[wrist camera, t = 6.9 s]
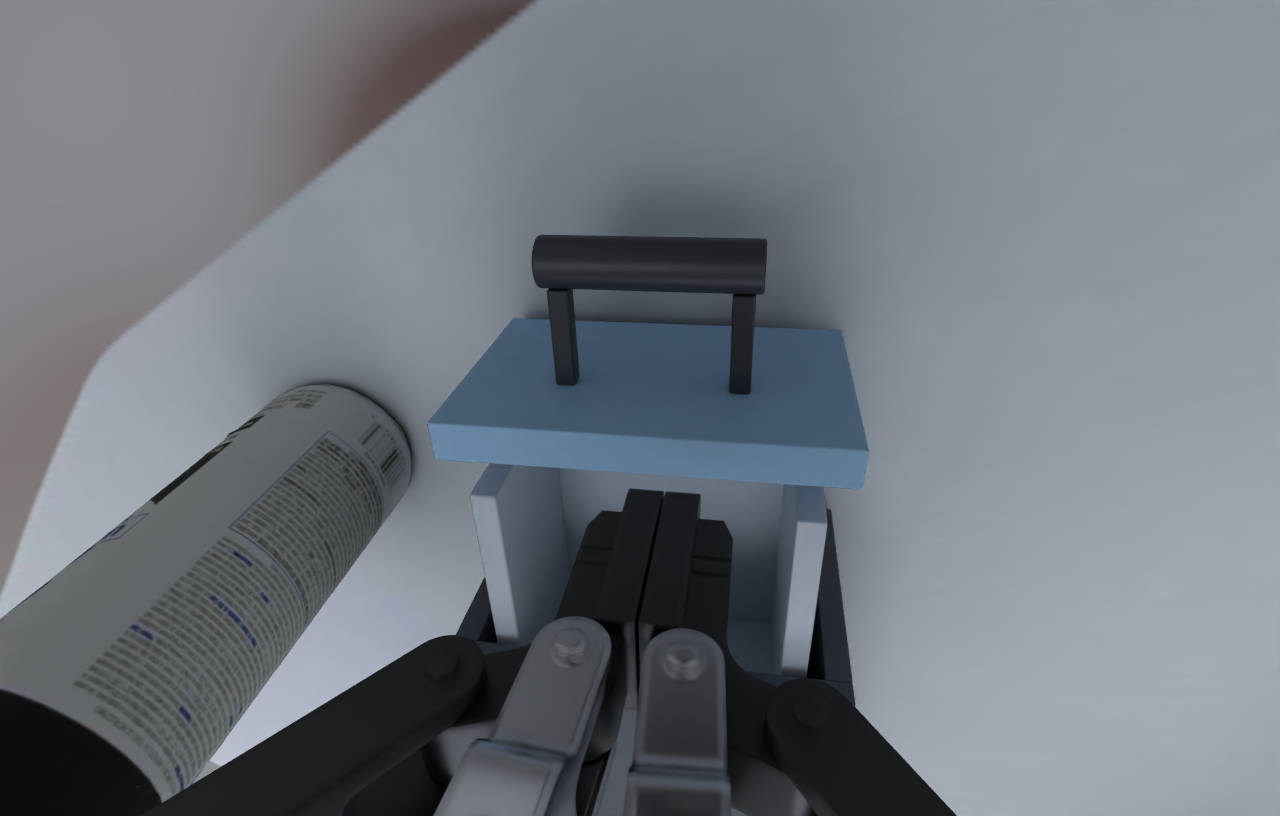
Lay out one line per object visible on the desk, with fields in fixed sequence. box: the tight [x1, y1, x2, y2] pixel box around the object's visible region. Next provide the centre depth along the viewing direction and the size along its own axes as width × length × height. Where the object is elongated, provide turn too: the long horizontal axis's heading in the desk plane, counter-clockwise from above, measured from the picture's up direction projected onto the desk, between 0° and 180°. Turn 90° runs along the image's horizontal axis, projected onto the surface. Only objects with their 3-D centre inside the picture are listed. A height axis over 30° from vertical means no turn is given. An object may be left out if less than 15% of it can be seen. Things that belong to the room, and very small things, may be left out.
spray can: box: [0, 384, 411, 816], centre depth 21 cm, size 7×7×20 cm
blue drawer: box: [427, 235, 869, 678], centre depth 23 cm, size 18×11×7 cm, turn 2°
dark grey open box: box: [456, 510, 855, 816], centre depth 28 cm, size 15×13×9 cm
